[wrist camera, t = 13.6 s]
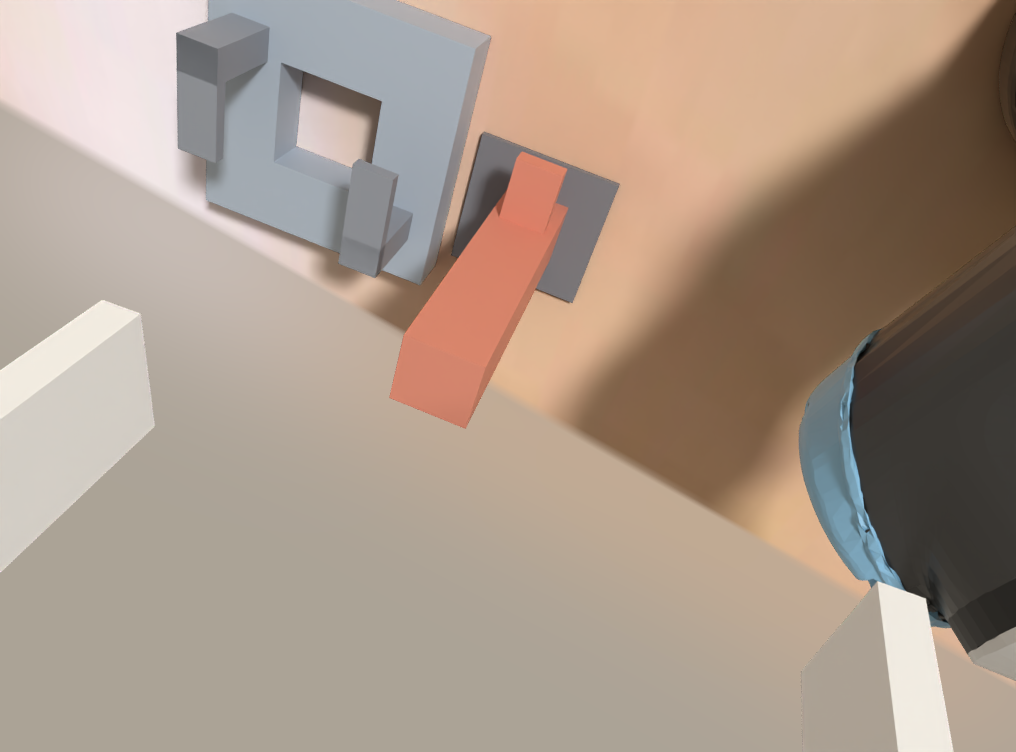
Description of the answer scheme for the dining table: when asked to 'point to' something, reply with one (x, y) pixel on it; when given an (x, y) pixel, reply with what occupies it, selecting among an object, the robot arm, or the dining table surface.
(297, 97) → the eye block
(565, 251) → the mat
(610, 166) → the dining table surface
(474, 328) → the orange tabbed bar
